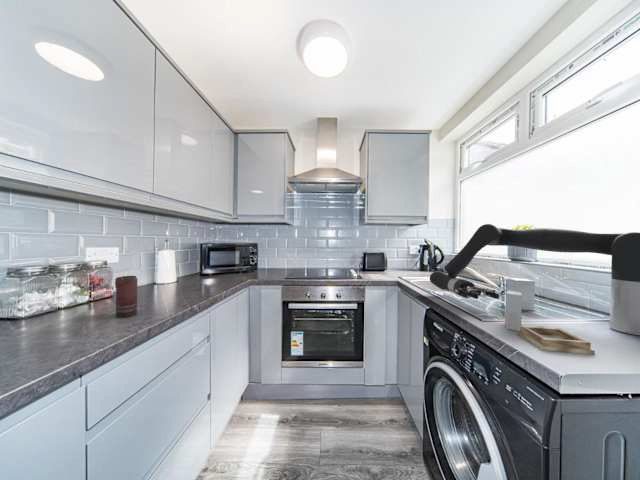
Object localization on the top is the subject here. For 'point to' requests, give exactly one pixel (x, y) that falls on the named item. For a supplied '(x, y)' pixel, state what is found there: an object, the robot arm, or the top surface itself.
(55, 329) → the top surface
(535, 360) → the top surface
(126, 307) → the can
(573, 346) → the wooden tray
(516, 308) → the skincare box
